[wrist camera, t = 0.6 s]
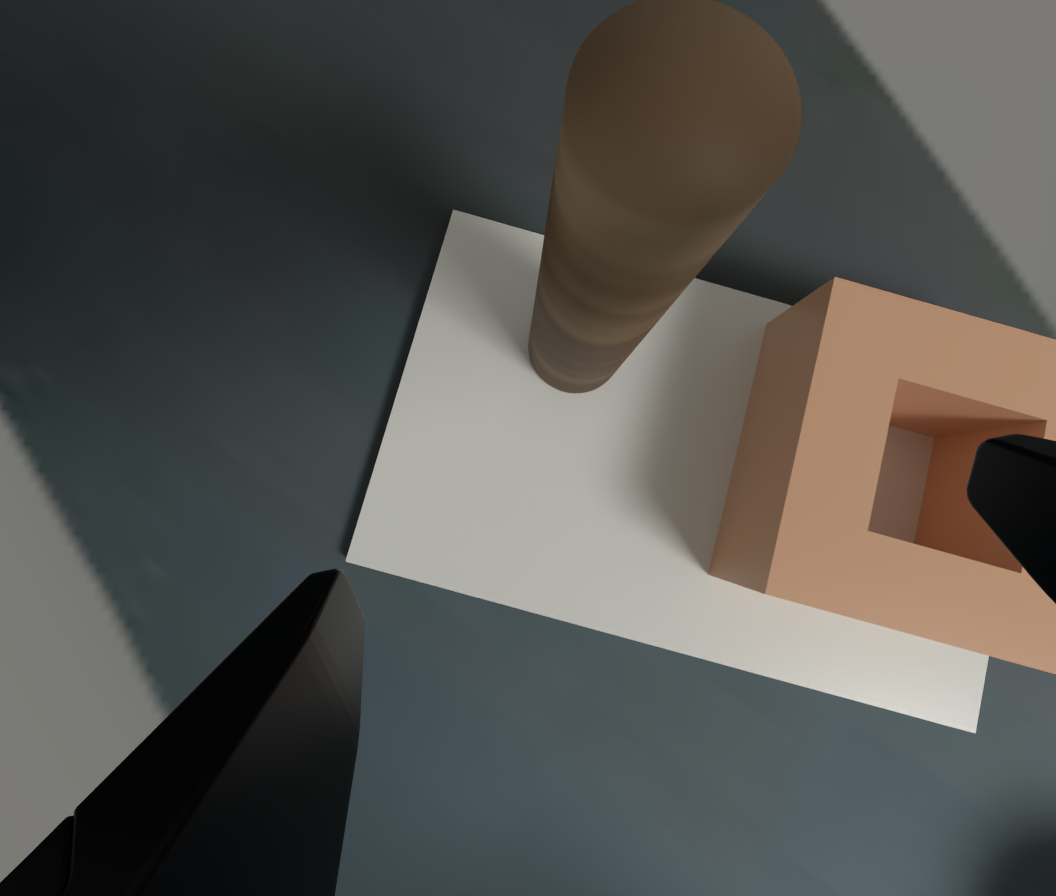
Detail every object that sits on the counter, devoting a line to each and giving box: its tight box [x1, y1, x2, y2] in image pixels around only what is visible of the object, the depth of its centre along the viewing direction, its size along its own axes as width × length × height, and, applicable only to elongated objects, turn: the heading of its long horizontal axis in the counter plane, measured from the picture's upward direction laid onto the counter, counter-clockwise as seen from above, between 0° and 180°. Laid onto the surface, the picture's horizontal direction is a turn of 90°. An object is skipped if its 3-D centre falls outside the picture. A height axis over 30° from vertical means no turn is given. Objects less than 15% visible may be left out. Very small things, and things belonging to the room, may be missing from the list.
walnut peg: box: [528, 0, 802, 393], centre depth 15 cm, size 4×4×13 cm
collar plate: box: [346, 210, 1056, 733], centre depth 19 cm, size 14×24×5 cm, turn 75°
